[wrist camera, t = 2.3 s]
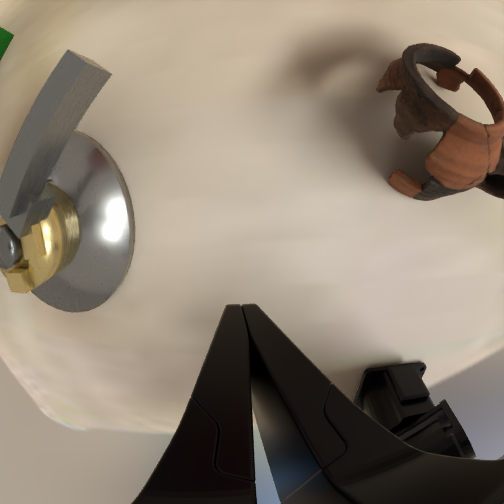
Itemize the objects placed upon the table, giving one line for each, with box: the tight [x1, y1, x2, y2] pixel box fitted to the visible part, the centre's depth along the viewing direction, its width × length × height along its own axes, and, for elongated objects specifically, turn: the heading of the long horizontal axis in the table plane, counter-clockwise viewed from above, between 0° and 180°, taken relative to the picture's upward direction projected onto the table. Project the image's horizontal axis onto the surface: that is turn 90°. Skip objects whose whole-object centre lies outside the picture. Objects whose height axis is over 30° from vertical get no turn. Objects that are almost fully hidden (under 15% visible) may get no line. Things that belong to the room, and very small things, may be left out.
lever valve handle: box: [0, 50, 112, 293], centre depth 14 cm, size 16×7×6 cm, turn 139°
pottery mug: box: [376, 43, 504, 201], centre depth 14 cm, size 12×10×8 cm
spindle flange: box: [0, 131, 135, 312], centre depth 16 cm, size 15×15×7 cm
